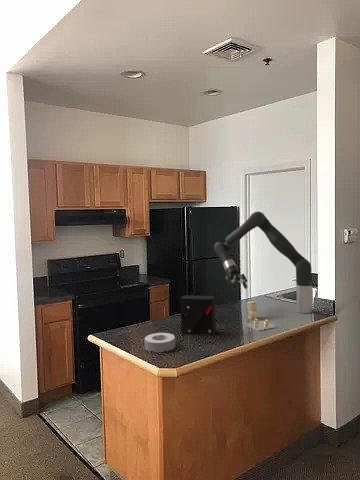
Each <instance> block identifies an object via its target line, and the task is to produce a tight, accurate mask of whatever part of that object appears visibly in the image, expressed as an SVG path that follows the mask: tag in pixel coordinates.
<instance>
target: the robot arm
mask: <svg viewBox="0 0 360 480" xmlns="http://www.w3.org/2000/svg"><path fill="white" fill-rule="evenodd" d="M257 227H258V228H259V229H260V230H261V231H262V232H263V233H264V234H265V236H266V238H267V239H268V241H269V243H270V244H271V245H272V246H273V247H274V248H275V250H277V251H278V252H279V253H280V254H281V255H283V256H284V257H286V258H287V259H288V260H289V261H290V262H291V263H292V265H293V266H294V267H295V282H296V283H295V285H296V312H297V313H300V314H311V313H313V297H312V296H313V295H312V294H313V293H312V292H313V291H312V285H313V284H312V280H313V278H312V264H311V261H309V260H307V259H306V258H305V257H304V256H303V255H302V254H301V253H299V251H298V250H297V249H296V248H295V246H294V245H293V244H292V243H291V241H289V240H288V239H287V237H285V235H284V234H283V233H281V231H280V230H279V229H277V228H276V227H275V226H274V225H273V224H272V223H271V222H270V220H269V218H267V217H266V215H265V214H264V213H263V212H261V211H254V212H252V213H251V215H250V216H249V217H248V218H247V219H246V220H245V222H244V223H242V224H241V225H240V226H238V227H237V228H236V229H235V230H234V231H232V232H231V233H229V234H228V235H227V236H226V237H225V238H224V239H225V242H224V243H223V242H221V241H217V242H215V244H214V245H213V249H214V251H215V253H216V255H217V256H218V258H219V259H220V261H221V263H222V265H223V269H224V270H225V272H226V276H225V280H226V283H227V284H228V285H230V286H231V287H232V289H233V290H234V291H236V290H238V288H237V285H236V284H235V283H237V282H238V283H241V284H242V286H243V288H244V290H247V288H248V285H247V282H248V279H247V277H246V275H245V274H244V273H242V274H240V271H239V268H238V267H237V265H236V263H235V260H233V257H232V256H231V254H230V253H229V251H230V250H231V248H233V246H234V245H235V244H236V243H238V242H239V241H240V240H242V238H243V237H245V236H246V235H247V234H248V233H249V232H251V231H252V230H253V229H256V228H257Z"/></svg>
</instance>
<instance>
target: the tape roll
mask: <svg viewBox="0 0 360 480" xmlns="http://www.w3.org/2000/svg"><path fill="white" fill-rule="evenodd" d="M175 348H176V337H175V335H174V334H173V333H169V332H156V333H151V334H149V335H145V337H144V349H145V351H147V350H148V352H150V351H153V352H152V353H165V352H164V351H166V352H169V350H170V351H172V350H174V349H175Z"/></svg>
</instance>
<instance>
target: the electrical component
mask: <svg viewBox="0 0 360 480" xmlns="http://www.w3.org/2000/svg"><path fill="white" fill-rule="evenodd" d="M215 303H216V302H215V296H214V295H185V294H184V295H183V296H181V297H180V298H179V304H180V306H179V307H180V325H181V326H180V328H181V330H180V331H181V335H202V334H203V335H205V336H214V335H215V333H216V332H217V330H216V329H217V328H216V327H217V325H216V304H215Z"/></svg>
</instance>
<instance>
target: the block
mask: <svg viewBox="0 0 360 480" xmlns="http://www.w3.org/2000/svg"><path fill="white" fill-rule="evenodd" d="M246 303H247V319H249V320H251V319H252V320H255V319H256V318H257V319H258V311H257V310H258V307H257V305H258V304H257V302H256V301H247V302H246Z"/></svg>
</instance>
